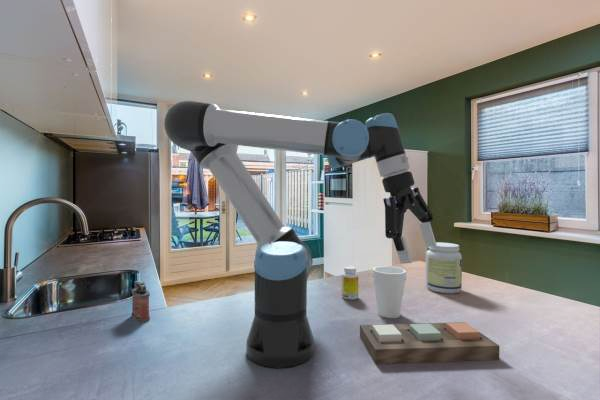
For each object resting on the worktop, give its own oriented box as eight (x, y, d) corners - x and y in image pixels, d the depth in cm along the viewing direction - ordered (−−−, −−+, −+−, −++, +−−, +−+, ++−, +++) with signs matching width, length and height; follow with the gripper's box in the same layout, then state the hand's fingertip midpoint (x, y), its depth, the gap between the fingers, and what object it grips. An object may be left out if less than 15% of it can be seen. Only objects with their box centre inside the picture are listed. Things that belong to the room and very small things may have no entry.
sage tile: (419, 342, 67) (419, 333, 67) (409, 332, 72) (409, 324, 72) (440, 342, 68) (441, 333, 68) (429, 331, 73) (429, 323, 73)
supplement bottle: (360, 299, 102) (361, 269, 102) (345, 300, 101) (345, 269, 101) (354, 294, 108) (354, 265, 108) (339, 295, 106) (339, 266, 106)
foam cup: (407, 321, 84) (408, 274, 84) (373, 318, 86) (373, 273, 86) (403, 309, 94) (403, 267, 94) (372, 306, 96) (372, 265, 95)
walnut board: (375, 363, 63) (375, 349, 63) (359, 336, 75) (359, 324, 75) (499, 359, 65) (499, 345, 65) (464, 334, 77) (465, 322, 77)
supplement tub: (468, 294, 108) (468, 247, 108) (433, 294, 108) (434, 246, 108) (451, 284, 120) (452, 241, 120) (420, 284, 120) (420, 241, 120)
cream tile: (379, 343, 67) (379, 334, 67) (372, 333, 72) (372, 325, 72) (401, 343, 67) (401, 334, 67) (392, 332, 72) (393, 324, 72)
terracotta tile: (458, 341, 68) (458, 332, 68) (445, 331, 73) (446, 323, 73) (479, 340, 68) (479, 332, 68) (465, 331, 73) (466, 322, 73)
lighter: (152, 320, 84) (152, 284, 84) (139, 324, 82) (139, 286, 82) (141, 312, 90) (141, 278, 90) (128, 315, 87) (128, 280, 87)
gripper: (381, 178, 67) (408, 270, 67) (431, 164, 84) (453, 238, 83) (355, 186, 73) (380, 271, 73) (406, 171, 89) (427, 241, 89)
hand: (419, 254), depth 78 cm, fingers open, 13 cm apart
